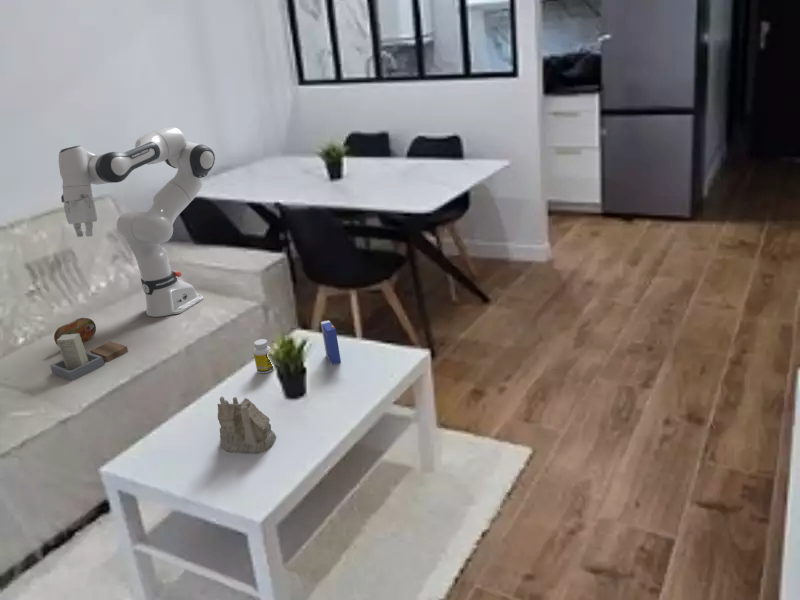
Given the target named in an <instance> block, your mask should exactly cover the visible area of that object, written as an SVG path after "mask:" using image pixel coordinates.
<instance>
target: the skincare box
mask: <svg viewBox="0 0 800 600" xmlns="http://www.w3.org/2000/svg"><path fill="white" fill-rule="evenodd" d="M57 343H58V345H57V347H58V348H59V352H60V354H61V357H62V359H63V360H64V363H65V366H66V368H65V369H67V370H69V371H71V370H73V369H76V368H78V367H80V366H82V365H84V364H86V363H88V362H89V360H88V357H87V355H86V352H87V351H86V349H85V346H84V344H83V343H84V342H83V343H82V340H81V337H80V334H79V333H77V334H66V335H62V336H61V337H60V338H58V339H57ZM85 351H86V352H85Z"/></svg>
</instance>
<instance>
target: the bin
mask: <svg viewBox="0 0 800 600" xmlns="http://www.w3.org/2000/svg"><path fill="white" fill-rule="evenodd" d="M85 352H86V355H87V357H88V360H89V362H88V363H86V364H84V365H82V366H80V367H78V368H76V369H73V370H71V371H69V370H67V369H66V366H65V363H64V360H63V358H62V359H60V360H59V361H56V362H54V363H52V364H50V365H49V367H50V370H51V373H52V374H53V375H56V376H59V377H61V378H63V379H66V380H68V381H70V382H74V381H75V380H77V379H79V378H82V377H83V376H85V375H87V374H89V373H91V372H93V371H96V370H97V369H99V368H101V367H103V366H105V362H104V361H105V360H103V358H102V357H101V356H98V355H95V354H92V353H90V351H89V352H88V351H86V350H85Z"/></svg>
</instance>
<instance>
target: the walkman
mask: <svg viewBox="0 0 800 600" xmlns="http://www.w3.org/2000/svg"><path fill="white" fill-rule="evenodd" d="M320 325H321V331H322V338H323V343H324V351H325V356H326V357H327V356H328V357H327V358H328V360H329V361H330V363H331V364H332V365H336V364H337V365H338V364H339V363H342V361H341V360H342V359H341V355H340V349H339V348H340V347H339V343H338V334H337V329H336V327H335V326H334V324H333V323H332V322H331V321H330V319H329V320H323V321H321V322H320Z"/></svg>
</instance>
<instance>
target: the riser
mask: <svg viewBox="0 0 800 600" xmlns="http://www.w3.org/2000/svg"><path fill="white" fill-rule="evenodd" d="M128 352H129V349H128V346H127V345H124V344H121V343H117V342H113V341H111V340H110V341H107V342H106V343H103V344H101V345H99V346H97V347H95V348H92V349H91V350H89V353H92V354H95V355H98V356H101V357H102V358H103V361H105V362H110V361H112V360H115V359H116V358H119V357H120V356H122V355H125V354H127V353H128Z"/></svg>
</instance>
